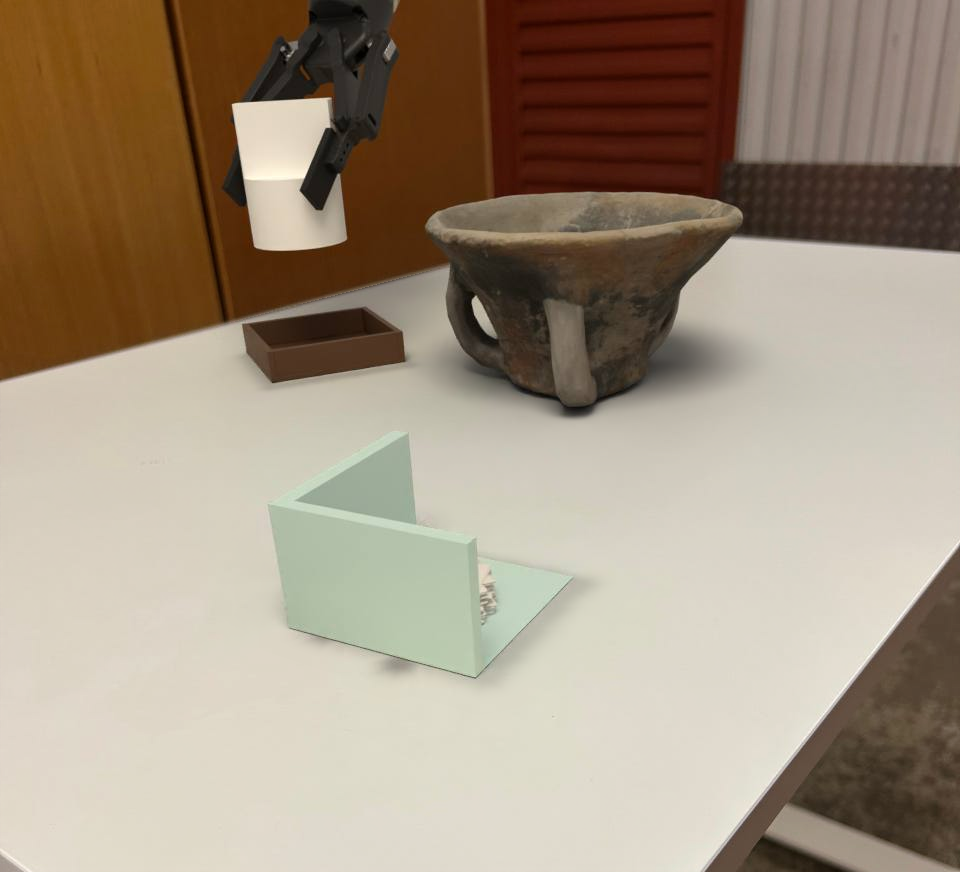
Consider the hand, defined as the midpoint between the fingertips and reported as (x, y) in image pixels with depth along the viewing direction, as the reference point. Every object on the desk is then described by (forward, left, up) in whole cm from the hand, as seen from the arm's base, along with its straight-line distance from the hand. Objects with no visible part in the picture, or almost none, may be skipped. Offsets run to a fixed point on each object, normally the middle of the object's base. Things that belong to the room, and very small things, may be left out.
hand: (271, 198), depth 92 cm
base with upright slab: (0, +3, -4) cm, 5 cm away
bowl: (+28, +9, -16) cm, 33 cm away
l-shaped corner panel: (+40, -33, -16) cm, 54 cm away
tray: (0, +5, -16) cm, 17 cm away
